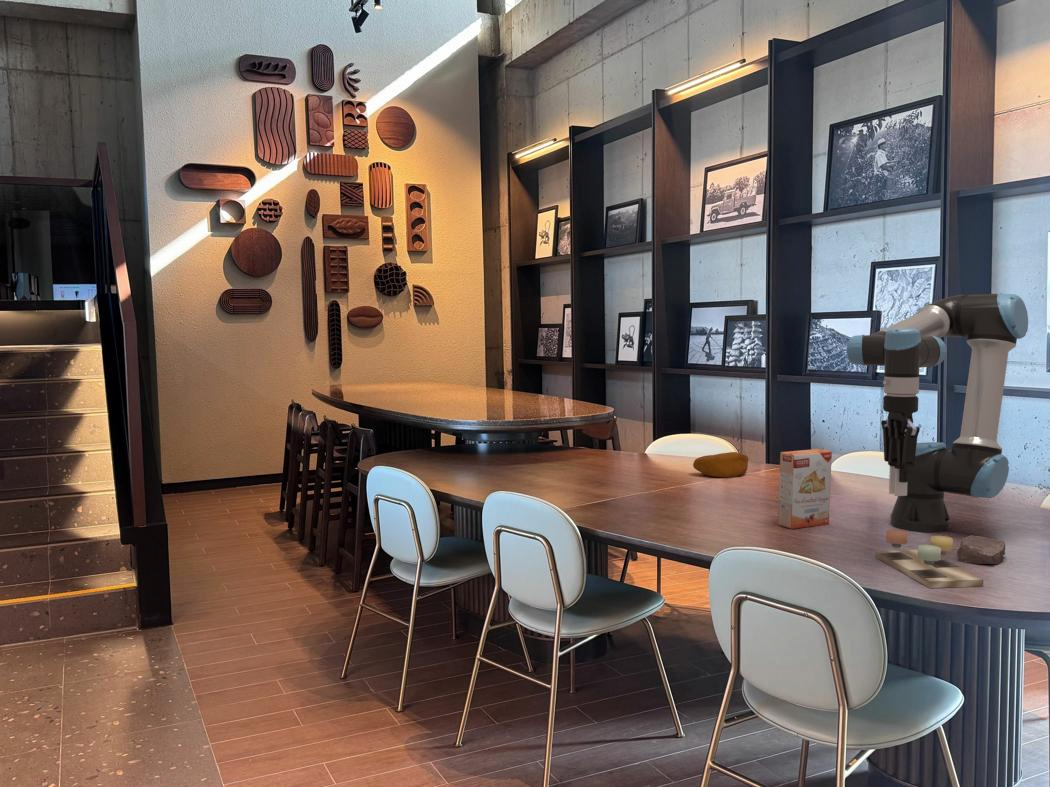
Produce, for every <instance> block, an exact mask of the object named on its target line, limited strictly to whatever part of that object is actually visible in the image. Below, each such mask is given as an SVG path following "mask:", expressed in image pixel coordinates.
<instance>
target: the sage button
mask: <svg viewBox="0 0 1050 787" xmlns="http://www.w3.org/2000/svg"><path fill="white" fill-rule="evenodd" d="M917 550H918V558H919V559H922V560H924V564H927V565H933V564H934V561H939V560H941V559H942V558H941V557H942V555H941V548H940V547H938V546H933V545H931V544H919V545H917Z"/></svg>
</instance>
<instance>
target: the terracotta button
mask: <svg viewBox="0 0 1050 787" xmlns="http://www.w3.org/2000/svg"><path fill="white" fill-rule="evenodd" d="M885 540H886V541H885V542H887V543H888V544H891V547H893V548H896V549H900V548H901V547H902V545H905V544H908V531H906V530H905V529H899V528H898V529H897V528H896V529H895V528H891V529H886V532H885Z"/></svg>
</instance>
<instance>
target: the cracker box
mask: <svg viewBox="0 0 1050 787" xmlns="http://www.w3.org/2000/svg"><path fill="white" fill-rule="evenodd" d="M832 456H833V454H832V451H830V450H827V449H820V448H813V449H803V450H793V451H792V450H790V451H781V452H780V454H779V457H780V458H779V459H780V460H779V482H778V483H779V485H778V486H779V487H778V488H779V489H778V490H779V491H778V518H777V519H778V520H777V521H778V523H777V524H778V526H781V527H784V528H788V529H790V530H795V529H801V528H802V529H803V528H809V527H815V526H823V525H829V524H830V509H831V508H830V504H831V503H830V502H831V485H832V484H831V479H832V477H831V476H832Z"/></svg>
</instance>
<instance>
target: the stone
mask: <svg viewBox="0 0 1050 787" xmlns="http://www.w3.org/2000/svg"><path fill="white" fill-rule="evenodd" d="M956 555H957V559H958V562H961V563H969V564H978V565H981V564H985V565H998V564H1000V563H1002V559H1003V558H1004V556H1006V542H1005V541H1004V540H1003V541H1002V540H999V539H995V538H994V539H993V538H990V537H984V536H980V535H969V536H965V537H964V538H962V540H961V542H960V546H959V548H958V549H957V551H956Z"/></svg>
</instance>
